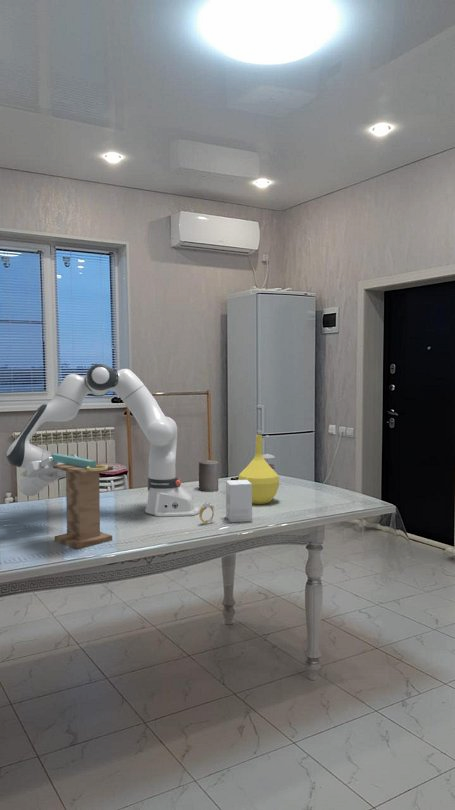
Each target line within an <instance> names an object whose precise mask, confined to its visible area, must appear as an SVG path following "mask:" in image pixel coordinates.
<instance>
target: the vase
mask: <svg viewBox="0 0 455 810" xmlns="http://www.w3.org/2000/svg"><path fill="white" fill-rule="evenodd" d="M263 455H264V454H263V434H255V454H254V457H253V459H252V460H251V461H250V463H249V464H248V465H247V466H246V467H245V468H244V469H243V470H241V472H240V473H239V474H238V479H237V480H248V481H249V482H250V483H251V484H252V505H265V504H268V503H270V502H271V501H272V500H273V499H274V498H275V496H276V495H277V493H278V489H279V486H280V479H279V478H280V477H279V474H278V473H277V472H276V470H275V471H274V470H273V469H272V468H271V467H270V466H269V464H270V463H267V460H266V459H264V458H263Z"/></svg>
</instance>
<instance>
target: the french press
mask: <svg viewBox="0 0 455 810" xmlns="http://www.w3.org/2000/svg"><path fill="white" fill-rule="evenodd" d="M265 438H266V440H267V441H266V442H267V443H266V445H267V447H266V449H267V450H266V451H267V453H266V454H262V455H263V458H264V460H266V462H267V463H268V460H274V459H276V457H275V455H273V454H270V453H268V452H269V451H268V450H269V446H268V445H269V439H268V438H270V435H268V434H267V435H265ZM268 464H269V466H270V467H271V468H272V469H273V470H274V471H275V472H276V470H275V469H276V468H275V467H274V466H275V464H273V463H268Z"/></svg>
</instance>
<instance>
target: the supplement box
mask: <svg viewBox="0 0 455 810" xmlns="http://www.w3.org/2000/svg"><path fill="white" fill-rule="evenodd" d="M225 493H226V494H225V502H226V503H225V517H226V519H227V518H228V519H227V520H228V521H229V523H242V522H245V523H246V522H252V521H253V503H252V484H251V483H250V482H249V481H248V480H238V479H235V480H234V479H233V480H230V479H228V480H226V481H225Z"/></svg>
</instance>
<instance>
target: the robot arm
mask: <svg viewBox="0 0 455 810" xmlns="http://www.w3.org/2000/svg"><path fill="white" fill-rule="evenodd" d="M110 391H112V392H113V393H115V394H117V395H118V396H119V398H120V400H122V402H123V404H124V405H125V407H127V409H128V410H129V411H130V413H131V414H132V416H133V417H134V419H135V420H136V422H137V424H138V426H139V428H140V429H141V430H142V432H143V435H145V437H146V439H147V440H148V442H149V443H150V444H149V445H150V446H149V447H150V449H149V456H148V478H147V492H148V495H147V502H146V506H145V510H144V512H145V513H146V514H149V515H154V516H155V517H181V516H182V517H183V516H184V517H185V516H187V517H188V516H195V515H199V510H200V506H198V505H195V500H194V497H193V495H192V494H191V493H190V492H189V491H187V490H186V489H185V488H184V487H182V486H181V483H182V482H181V478H179V477H177V476H176V475H177V473H176V469H177V467H176V465H177V463H176V461H177V459H176V458H177V445H178V444H177V443H178V442H177V441H178V425H177V423H176V421H175V420H174V419H173V418H171V417H169V416H166V415H165V414H164V412H163V410H162V409H161V407H160V406H159V403H158V402H157V400H156V399H155V396H154V395H152V393H151V392H150V391H149V389H148V388H147V387H146V385H145V384H144V383H143V381H142V380H141V379H140V378H139V376H137V375H136V374H135V372H133V371H132V370H131V369H129V368H122V369H119V370H116V369H114V368H112V367H110V366H109V365H106V364H103V363H97V364H94V365H92V366H90V367H89V369H88V370H87V371H86V374H85V375H79V374H77V373H71V374H68V375H66V376H65V377H64V378H63V380H62V381H61V383H60V384H59V386H58V387H57V390H56V391H55V394H54V396H53V397H52V399H51V400H50V401H49V402H48V403H46V404H45V403H44V404H41V405H40V406H39V407H38V408H37V409H36V411H35V412H34V413H33V415H32V416H31V417H30V418H29V420H28V422H27V423H26V424H25V426H24V427H23V428H22V430H21V432H20V433H19V434H18V436H17V438H15V440H14V441H13V442H12V443H11V444H10V445H9V447H8V449H7V451H6V455H5V456H6V459H7V461H8V463H9V464H10V466H13V467H18V468H21V469H23V470H24V471H22V472H21V474H20V475H21V476H22V478H21V479H20V480H19V482H18V489H19V491H20V493H22V494H23V495H25V496H27V497H33V496H36V495H37V494H39V493H41V492H42V491H43V490H45V489H46V488H47V487H48V486H50V485H51V484H54V483H55V482H57V481H60V480H63V479H66V471H64V470H59V469H55V468H53V465H59V464H64V463H59V462H55V461H53V458H52V457H51V454H54V453H53V452H52V451H49V450H48V449H44V448H41V447H39V446H37V445H34V444H32V443H31V442H30V441H31V439H32V438H33V436H34V435H35V433H36V432H37V430H38V428H39V427H40V426H41V425H42V424H44V423H46V422H47V423H48V422H54V423H55V422H56V423H57V422H59V423H63V422H68V421H72V420H73V419H74V418H76V416H77V414H78V412H79V411H80V409H81V406H82V404H83V403H84V399H85V398H86V397H87V396H89V397H90V396H91V397H103V396H106V395H107V394H108V393H109V392H110ZM69 456H73V457H78V458H79V456H78V455H76V453H74V454H72V453H71V454H70V455H69Z"/></svg>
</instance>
